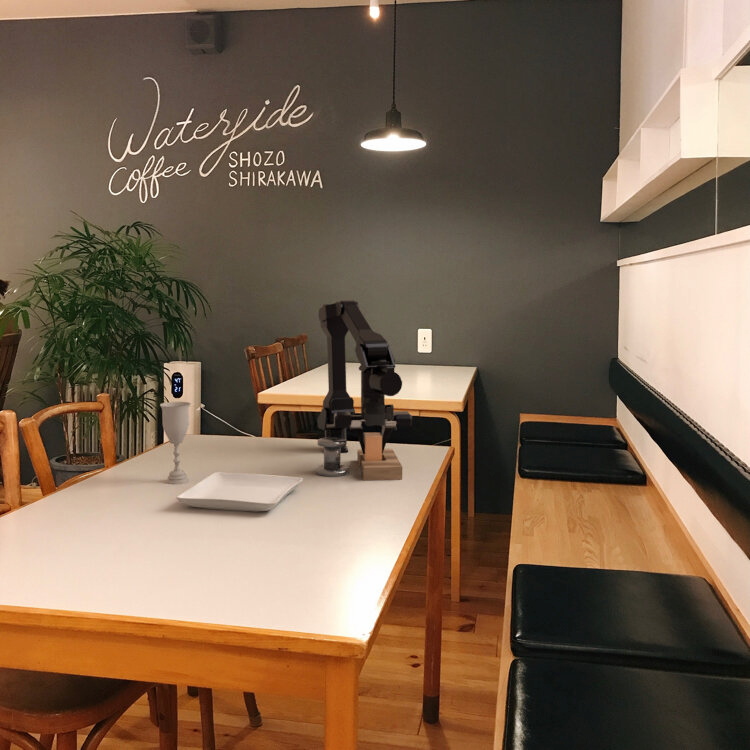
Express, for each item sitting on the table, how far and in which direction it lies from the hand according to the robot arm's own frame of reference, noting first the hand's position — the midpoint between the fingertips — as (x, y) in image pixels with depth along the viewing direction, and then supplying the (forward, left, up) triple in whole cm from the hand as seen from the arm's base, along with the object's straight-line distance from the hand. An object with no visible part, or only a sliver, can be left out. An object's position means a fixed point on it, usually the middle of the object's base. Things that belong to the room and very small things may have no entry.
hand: (372, 453), depth 200 cm
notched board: (0, +2, -4) cm, 4 cm away
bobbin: (+2, -10, -4) cm, 11 cm away
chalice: (+7, -46, -4) cm, 47 cm away
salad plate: (+24, -30, -5) cm, 39 cm away
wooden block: (0, 0, -1) cm, 1 cm away
